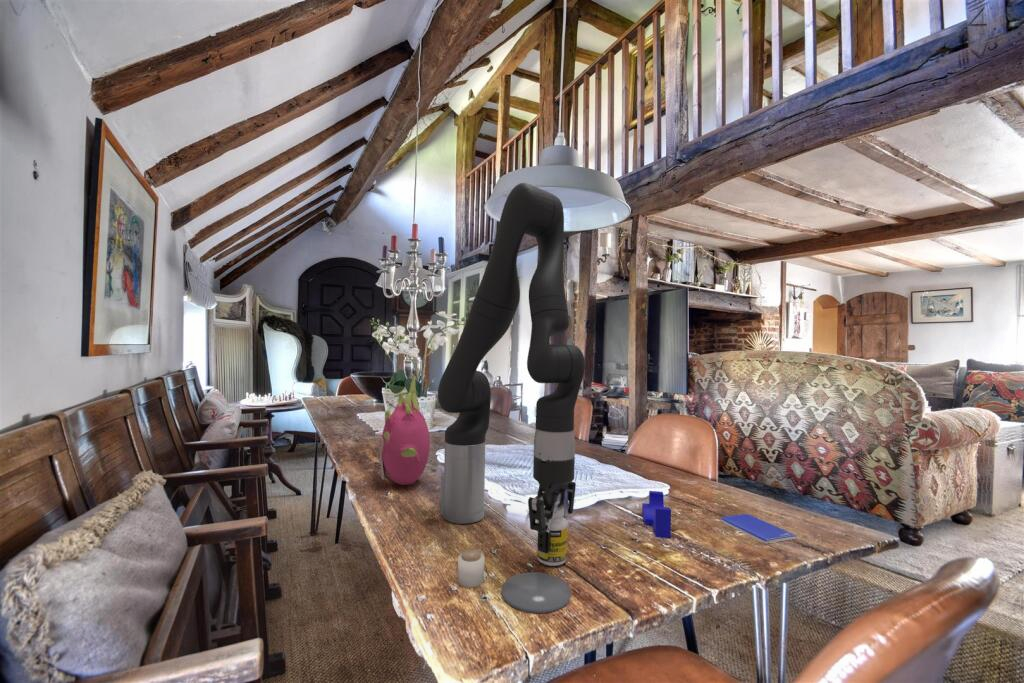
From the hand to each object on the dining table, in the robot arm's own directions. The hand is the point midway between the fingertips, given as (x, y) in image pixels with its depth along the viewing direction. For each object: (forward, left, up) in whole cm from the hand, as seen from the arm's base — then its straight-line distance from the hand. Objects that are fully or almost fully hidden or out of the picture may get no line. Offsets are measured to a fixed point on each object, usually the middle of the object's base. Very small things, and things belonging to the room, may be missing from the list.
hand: (552, 545), depth 86 cm
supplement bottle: (0, 0, -3) cm, 3 cm away
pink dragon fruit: (-55, +15, -3) cm, 57 cm away
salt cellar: (-8, -14, -3) cm, 16 cm away
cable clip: (+11, +28, -3) cm, 30 cm away
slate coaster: (+3, -11, -3) cm, 12 cm away
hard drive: (+29, +39, -4) cm, 49 cm away
